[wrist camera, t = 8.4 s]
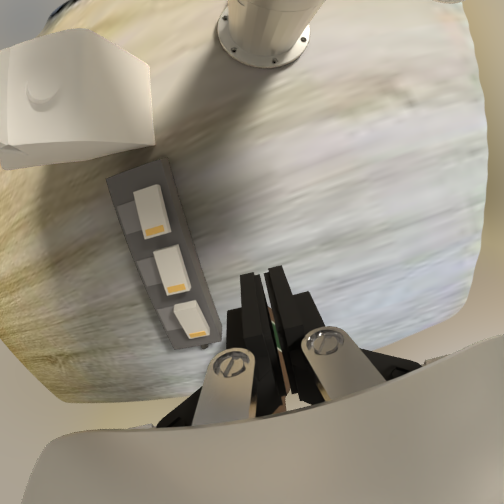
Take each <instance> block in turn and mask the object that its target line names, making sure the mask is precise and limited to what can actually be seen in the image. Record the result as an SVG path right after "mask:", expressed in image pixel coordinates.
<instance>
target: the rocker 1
mask: <svg viewBox="0 0 504 504" xmlns="http://www.w3.org/2000/svg"><path fill="white" fill-rule="evenodd" d="M133 194H134V198H135V202H136V207H137V211H138V215H139V219H140V223H141V227H142V231H143V235H144V239H148V238H152V237H155V236H159V235H162V234H166V233H169V232H171V228H170V224H169V220H168V216H167V212H166V208H165V204H164V200H163V196H162V191H161V187H160V185H157V184H156V185H153V186H150V187H147V188H144V189H141V190H138V191H135V192H133Z"/></svg>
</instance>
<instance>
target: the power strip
mask: <svg viewBox="0 0 504 504" xmlns="http://www.w3.org/2000/svg"><path fill="white" fill-rule="evenodd" d="M106 181H107V185H108V188H109V191H110V195H111V198H112V201H113V204H114V207H115V210H116V213H117V216H118V219H119V222H120V224H121V227H122V230H123V233H124V236H125V238H126V241H127V244H128V246H129V249H130V252H131V254H132V257H133V259H134V262H135V264H136V267H137V269H138V272H139V274H140V277H141V279H142V281H143V284H144V286H145V288H146V291H147V293H148V295H149V297H150V300H151V302H152V304H153V306H154V309H155V311H156V313H157V315H158V317H159V319H160V321H161V323H162V326H163V328H164V330H165V332H166V334H167V336H168V338H169V340H170V342H171V344H172V346H173V348H174V350H175V349H181V348H187V347H193V346H199V345H201V347H202V349H206V348H207V347H208V344H210V343H215V342H220V341H222V324H221V322H220V319H219V316H218V314H217V311H216V308H215V305H214V302H213V300H212V297H211V294H210V291H209V288H208V285H207V282H206V280H205V277H204V274H203V271H202V268H201V265H200V262H199V259H198V256H197V253H196V250H195V247H194V244H193V241H192V237H191V234H190V231H189V228H188V225H187V222H186V218H185V215H184V212H183V209H182V205H181V202H180V199H179V195H178V192H177V189H176V185H175V182H174V178H173V175H172V171H171V168H170V164H169V160H168V157H167V158H162V159H159V160H156V161H153V162H150V163H147V164H144V165H141V166H139V167H136V168H133V169H130V170H128V171H125V172H122V173H120V174H117V175H114V176H112V177H109V178H107V179H106ZM156 184H157V185H160V187H161V191H162V196H163V200H164V204H165V208H166V212H167V216H168V220H169V224H170V228H171V232H169V233H166V234H162V235H159V236H155V237H152V238H148V239H144V235H143V231H142V227H141V223H140V219H139V215H138V211H137V207H136V202H135V198H134V194H133V192H135V191H138V190H141V189H144V188H147V187H150V186H153V185H156ZM177 244H179V248H180V251H181V255H182V258H183V261H184V265H185V268H186V271H187V275H188V278H189V281H190V284H191V289H190V291H186V292H181V293H177V294H172V295H168V296H167V294H166V291H165V288H164V285H163V282H162V279H161V276H160V273H159V270H158V267H157V263H156V260H155V257H154V254H153V252H154V251H155V250H158V249H162V248H165V247H169V246H173V245H177ZM194 300H196V301H197V303H198V305H199V307H200V309H201V311H202V313H203V316H204V318H205V320H206V322H207V324H208V326H209V328H210V335H208V336H202V337H197V338H192V339H189V337H188V336H187V334H186V332H185V331H184V329H183V327H182V326H181V324H180V322H179V320H178V319H177V317H176V315H175V313H174V305H175V304H180V303H184V302H189V301H194Z"/></svg>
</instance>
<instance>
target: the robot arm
mask: <svg viewBox="0 0 504 504" xmlns="http://www.w3.org/2000/svg"><path fill="white" fill-rule="evenodd" d="M433 1H436V2H440V3H447V4H453V3H459V2H462V1H465V0H433ZM324 2H325V0H228V6H227V7H226V8H225V9H224V11H223V12H222V14H221V15H220V18H219V21H218V27H217V32H218V37H219V41H220V43H221V45H222V47H223V48H224V50H225V51H226V52H227V53H228V54H229V55H230V56H231V57H233V58H234V59H235V60H237V61H239V62H241V63H243V64H246V65H249V66H252V67H257V68H275V67H280V66H283V65H286V64H288V63H290V62H293V61H294V60H295V59H297V58H298V57H299V56H300V55H301V54H302V53H303V52H304V50H305V49H306V47H307V45H308V43H309V40H310V26H309V23H310V21H311V20H312V18H313V17H314V16H315V14H316V13H317V11H318V10H319V9H320V7H321V6H322V4H323V3H324ZM225 19H226V21H224V20H225ZM301 40H302V41H304V42H302V41H301ZM234 50H235V51H236V52H235V53H233V52H232V51H234ZM272 61H275V62H276V63H275V64H273V63H272ZM268 270H269V272H267V273H264V277H265V281H266V286H267V290H268V294H269V299H270V303H271V308H272V313H273V317H274V322H275V326H276V330H277V335H278V339H279V343H280V347H281V351H282V355H283V359H284V363H285V367H286V372H287V376H288V380H289V384H290V388H291V392H292V394H295V393H298V395H299V399H300V401H304V402H306V403H309V404H311V406H307V407H303V408H299V409H295V410H291V411H286V412H281V413H276V414H274V412H275V411H276V409H277V408H278V407H279V406H281V405H283V402H282V396H287V392H286V387H285V382H284V377H283V372H282V367H281V363H280V358H279V353H278V348H277V343H276V338H275V334H274V329H273V325H272V321H271V317H270V313H269V310H268V306H267V302H266V298H265V294H264V290H263V286H262V282H261V278H260V274H259V275H254V272H252V273H248V274H243V275H240V285H241V304H242V307H241V308H237V309H232V310H228V311H227V338H226V350H225V351H222V352H220V353H219V354H217V355H216V356H215V357H214V358H213V359H212V360H211V361H210V363H209V365H208V369H207V372H206V376H205V380H204V383H203V386H202V387H201V388H200V389H198V390H197V391H196V392H195V393H193V394H192V395H191V396H190V397H189V398H187V399H186V400H185V401H184V402H183V403H181V404H180V405H179V406H178V407H176V408H175V409H174V410H173V411H171V412H170V413H169V414H167V415H166V416H165V417H164V418H163V419H162V420H161V421H160V422H159V423H158V424H157V426H153V425H152V424H148V425H143V426H139V427H134V428H129V429H100V430H99V429H98V430H86V431H79V432H74V433H70V434H67V435H63V436H61V437H58V438H56V439H54V440H52V441H51V442H50V443H49V444H47V445H46V447H45V448H44V449H43V451H42V453H41V454H40V456H39V458H38V460H37V462H36V464H35V466H34V468H33V471H32V473H31V475H30V478H29V481H28V484H27V486H26V490H25V492H24V495H23V499H22V502H21V504H504V334H503V335H497V336H494V337H491V338H487V339H485V340H481V341H479V342H477V343H474V344H472V345H469V346H467V347H465V348H463V349H461V350H459V351H457V352H454V353H452V354H449V355H445V356H441V357H437V358H433V359H429V360H425V362H424V364H422V365H420V364H419V363H417V362H413V361H411V360H407V359H402V358H397V357H393V356H389V355H384V354H381V353H376V352H372V351H368V350H364V349H361V348H359V347H358V346H357V345H356V344H355V342H354V341H353V340H352V339H351V338H350V336H349V335H348V334H347V333H346V332H345V331H344V330H342V329H340V328H337V327H331V326H327V327H325V324H324V322H323V320H322V318H321V316H320V314H319V312H318V309H317V307H316V305H315V303H314V301H313V299H312V297H311V295H310V293H309V291H307V292H303V293H299V294H295V295H292V292H291V289H290V287H289V284H288V281H287V279H286V276H285V273H284V271H283V268H282V265H281V266H276V267H272V268H268Z"/></svg>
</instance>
